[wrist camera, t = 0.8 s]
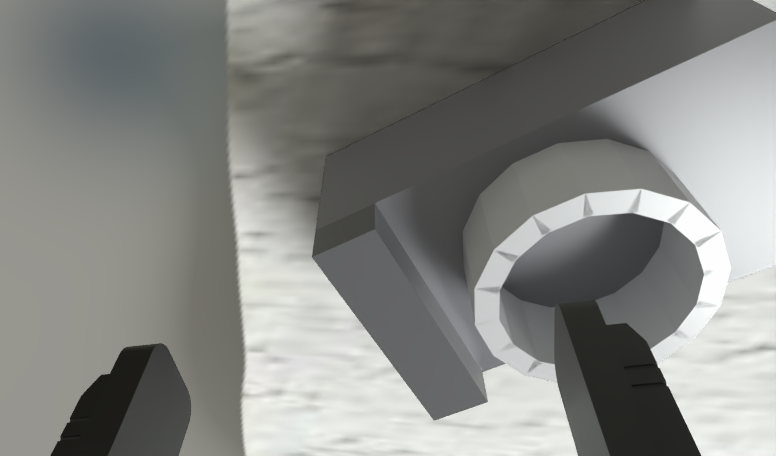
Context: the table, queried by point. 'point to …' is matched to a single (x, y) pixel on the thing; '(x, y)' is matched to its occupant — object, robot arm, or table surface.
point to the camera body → (562, 198)
